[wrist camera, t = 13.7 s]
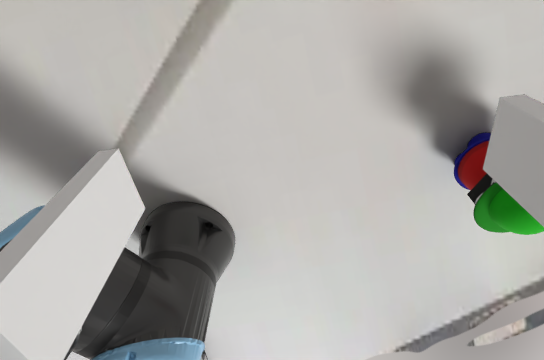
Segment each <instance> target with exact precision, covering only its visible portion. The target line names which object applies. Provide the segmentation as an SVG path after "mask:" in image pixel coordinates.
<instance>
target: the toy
mask: <svg viewBox="0 0 544 360" xmlns="http://www.w3.org/2000/svg"><path fill="white" fill-rule="evenodd" d="M490 136H491V133H480V134H478V135H476V136H475V137H473V138H472V139H471V140H470V142H469V143H468V146H467V149H466V150H465V151H464V152H463V153H461V154H460V155H458V156H457V158H456V159H455V162H454V163H455V167H454V176H455V179H456V181H457V182H458V183H459V184H460V185H461V186H462V187H464V188H466V189H469V190H471V191H470V192H469V193H468V194H467V195H468V196H469V197H470V199H471V200H472V201H473V202H474V204H475V208H474V219H475V221H476V223H477V224H478V225H479V226H480V227H481V228H483V229H485V230H487V231H491V232H502V233H503V232H513V233H517V234H524V235H529V234H537V233H540V232H543V231H544V227H543V226H542V225H541V224H540V223H539V222H538V221H537V220H536V219H535V218H534V217H532V216H531V215H530V214H529V213H528V212H527V211H526V210H525V209H524V208H523V207H522V206H521V205H520V204H519V203H518V202H517V201H516V200H515V199H514V198H512V197H511V196H510V195H509V194H508V193H507V192H506V191H505V190H504V189H503V188H502V187H501V186H500V185H499V184H498V183H497V182H496V181H495V180H494V179H493V178H491V177H490V176H489V175H488V174H487V173H486V172H485V171H484V170H483V166H484V162H485V157H486V153H487V149H488V145H489V141H490Z"/></svg>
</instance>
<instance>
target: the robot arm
mask: <svg viewBox="0 0 544 360" xmlns="http://www.w3.org/2000/svg"><path fill="white" fill-rule="evenodd" d="M483 170H484V171H485V172H486V173H487V174H488V175H489V176H490V177H491V178H493V179H494V180H495V181H496V182H497V183H498V184H499V185H500V186H501V187H502V188H503V189H504V190H505V191H506V192H507V193H508V194H509V195H510V196H511V197H512V198H514V199H515V200H516V201H517V202H518V203H519V204H520V205H521V206H522V207H523V208H524V209H525V210H526V211H527V212H528V213H529V214H530V215H531V216H532V217H534V218H535V219H536V220H537V221H538V222H539V223H540V224H541V225H542V226H543V227H544V104H543V103H541V102H539V101H537V100H535V99H533V98H531V97H529V96H527V95H525V94H523V95H515V96H508V97H500V98H499V103H498V107H497V111H496V115H495V120H494V124H493V128H492V132H491V136H490V141H489V145H488V149H487V153H486V157H485V162H484V166H483ZM144 210H145V206H144V204H143V202H142V200H141V198H140V195H139V193H138V191H137V189H136V186H135V184H134V182H133V180H132V177H131V175H130V173H129V171H128V169H127V166H126V164H125V162H124V160H123V157H122V155H121V153H120V151H119V148H118V149H110V150H103V151H98V152H97V153H96V154H95V155H94V156H93V157H92V158H91V159H90V160H89V161H88V162H87V163H86V164H85V165H84V166H83V167H82V168H81V169H80V170H79V171H78V172H77V174H76V175H75V176H74V177H73V178H72V179H71V180H70V181H69V182H68V183H67V184H66V185H65V186H64V187H63V188H62V189H61V190H60V191H59V192H58V193H57V194H56V195H55V196H54V197H53V198H52V199H51V200H50V201H49V202H48V203H47V204H46V205H44V206H40V207H37V208H35V209H33V210H31V211H29V212H28V213H26V214H25V215H23V216H22V217H20V218H19V219H18V220H16V221H15V222H13V223H12V224H11V225H9V226H8V227H7V228H5V229H4V230H3V231H1V232H0V360H66V359H67V357H68V356H69V354H70V353H71V352H72V351H73V352H75V353H77V354H79V355H82V356H84V357H86V358H88V359H90V360H200V359H201V355H202V352H203V351H204V348H205V345H204V341H205V336H206V332H207V327H208V322H209V317H210V312H211V307H212V302H213V297H214V291H215V286H216V283H217V281H218V280H219V278H220V277H221V275H222V273H223V272H224V270H225V269H226V267H227V266H228V264H229V262H230V261H231V259H232V256H233V253H234V247H235V235H234V232H233V229H232V227H231V226H230V224H229V223H228V221H227V220H226V219H225V218H224V217H223V216H221V215H220V214H219V213H217V212H216V211H214V210H212V209H211V208H208V207H206V206H203V205H200V204H196V203H191V202H174V203H169V204H165V205H163V206H161V207H159V208H157V209H155V210H154V211H153V212H152V213H151V214H150V215H149V217H148V218H147V220H146V222H145V224H144V226H143V228H142V230H141V234H140V247H139V256H138V255H136V254H135V253H133V252H131V251H130V250H128V249H127V248H125V245H126V243H127V242H128V240H129V238H130V236H131V234H132V232H133V231H134V229H135V227H136V225H137V223H138V221H139V219H140V218H141V216H142V214H143V212H144Z"/></svg>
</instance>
